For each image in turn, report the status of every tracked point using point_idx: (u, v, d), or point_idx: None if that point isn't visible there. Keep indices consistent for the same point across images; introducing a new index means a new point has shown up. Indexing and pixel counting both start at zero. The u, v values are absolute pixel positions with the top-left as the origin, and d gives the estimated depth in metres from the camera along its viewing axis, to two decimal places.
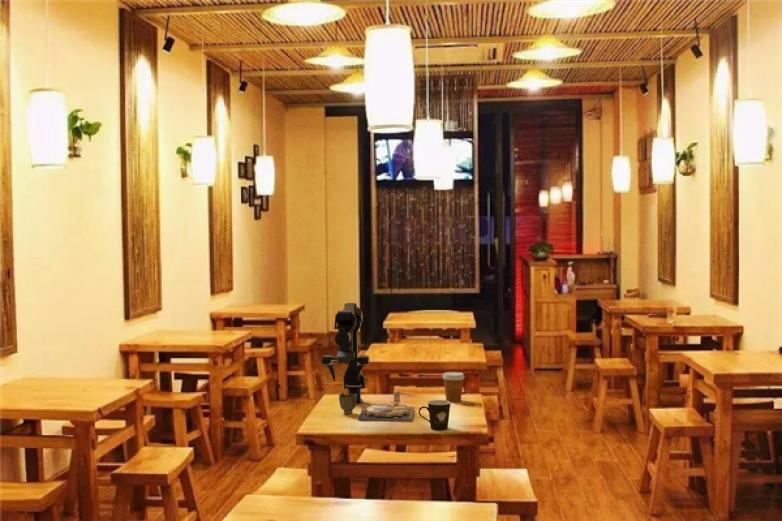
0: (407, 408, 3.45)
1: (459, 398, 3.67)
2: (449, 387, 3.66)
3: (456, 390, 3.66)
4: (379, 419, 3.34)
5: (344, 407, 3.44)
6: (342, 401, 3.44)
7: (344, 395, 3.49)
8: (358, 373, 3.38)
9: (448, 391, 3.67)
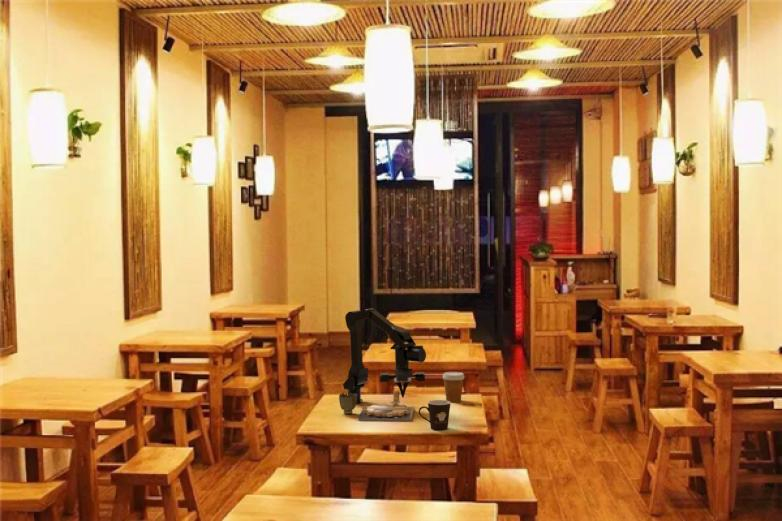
0: (407, 408, 3.45)
1: (459, 398, 3.67)
2: (449, 387, 3.66)
3: (456, 390, 3.66)
4: (379, 419, 3.34)
5: (344, 407, 3.44)
6: (342, 401, 3.44)
7: (344, 395, 3.49)
8: (404, 390, 3.53)
9: (448, 391, 3.67)
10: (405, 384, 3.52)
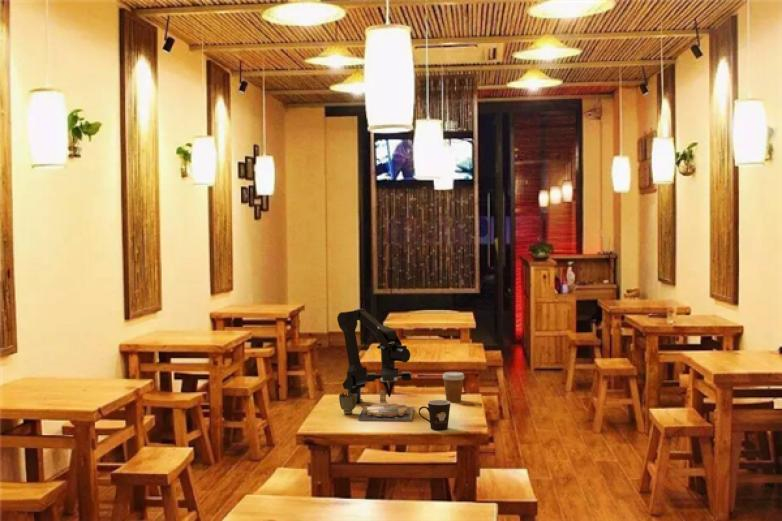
0: (403, 405, 3.49)
1: (459, 398, 3.67)
2: (449, 387, 3.66)
3: (456, 390, 3.66)
4: (379, 419, 3.34)
5: (344, 407, 3.44)
6: (342, 401, 3.44)
7: (344, 395, 3.49)
8: (390, 389, 3.53)
9: (448, 391, 3.67)
10: (391, 383, 3.52)
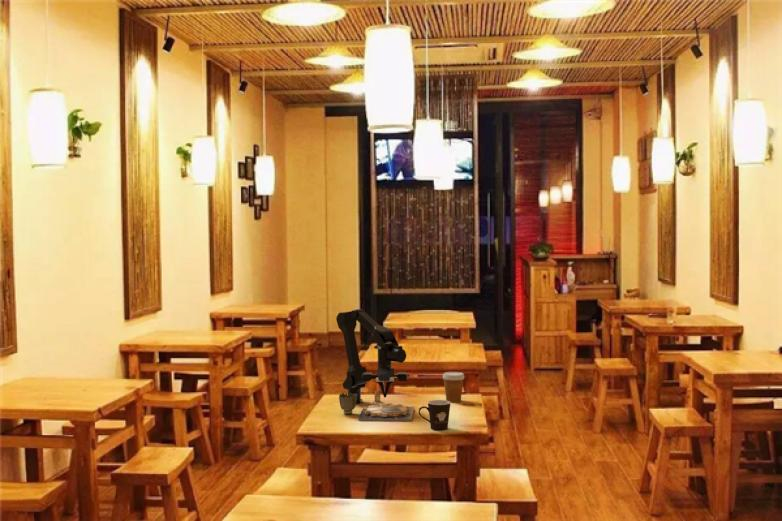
0: (400, 405, 3.51)
1: (459, 398, 3.67)
2: (449, 387, 3.66)
3: (456, 390, 3.66)
4: (379, 419, 3.34)
5: (344, 407, 3.44)
6: (342, 401, 3.44)
7: (344, 395, 3.49)
8: (386, 389, 3.53)
9: (448, 391, 3.67)
10: (387, 384, 3.51)
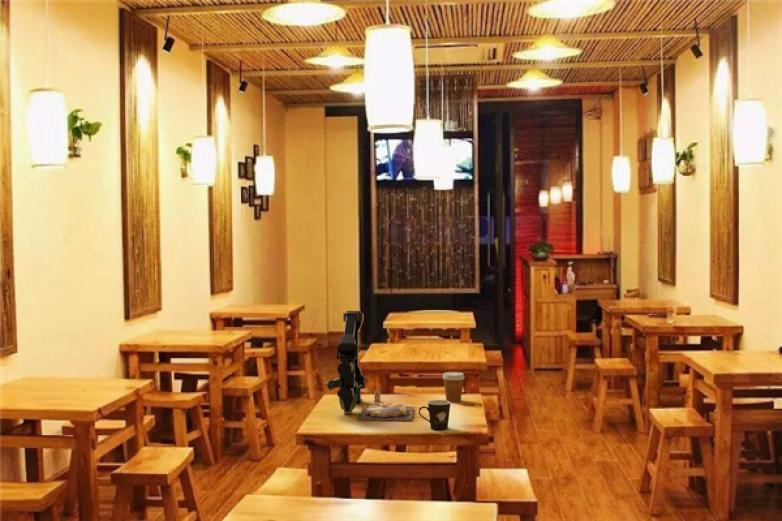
0: (400, 405, 3.51)
1: (459, 398, 3.67)
2: (449, 387, 3.66)
3: (456, 390, 3.66)
4: (379, 419, 3.34)
5: (344, 407, 3.44)
6: (342, 401, 3.44)
7: None
8: None
9: (448, 391, 3.67)
10: None
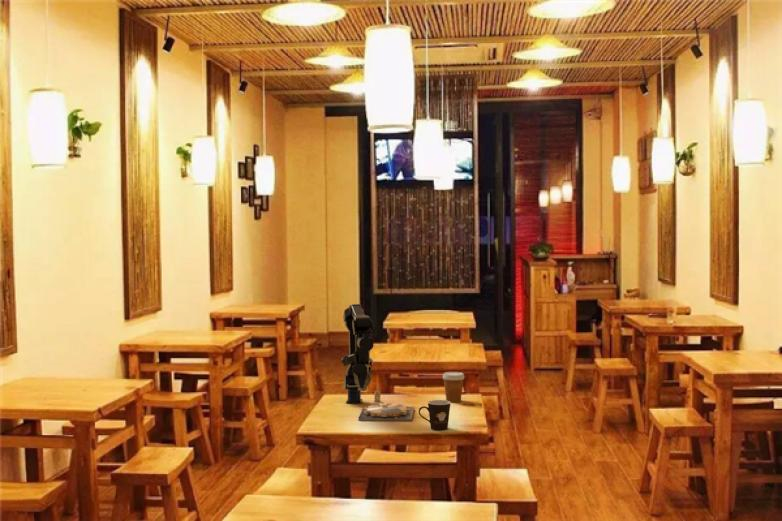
0: (400, 405, 3.51)
1: (459, 398, 3.67)
2: (449, 387, 3.66)
3: (456, 390, 3.66)
4: (379, 419, 3.34)
5: None
6: (357, 377, 3.41)
7: None
8: (358, 379, 3.40)
9: (448, 391, 3.67)
10: None
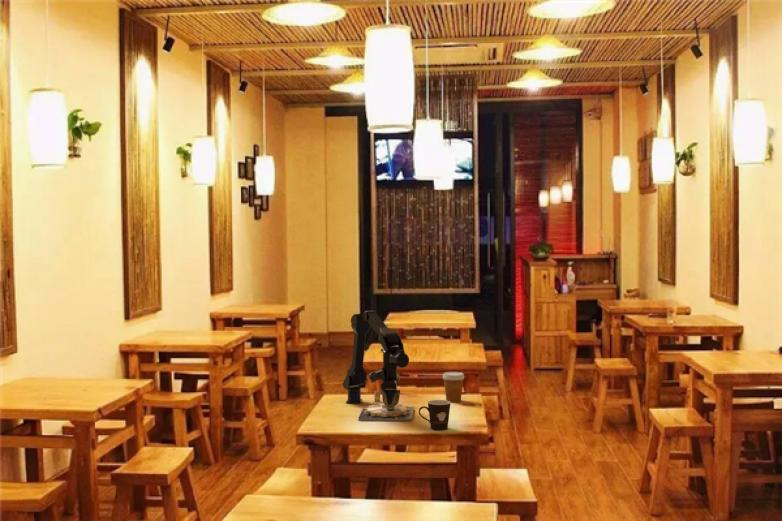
0: (400, 405, 3.51)
1: (459, 398, 3.67)
2: (449, 387, 3.66)
3: (456, 390, 3.66)
4: (379, 419, 3.34)
5: (387, 403, 3.38)
6: (385, 397, 3.37)
7: None
8: (386, 396, 3.35)
9: (448, 391, 3.67)
10: None
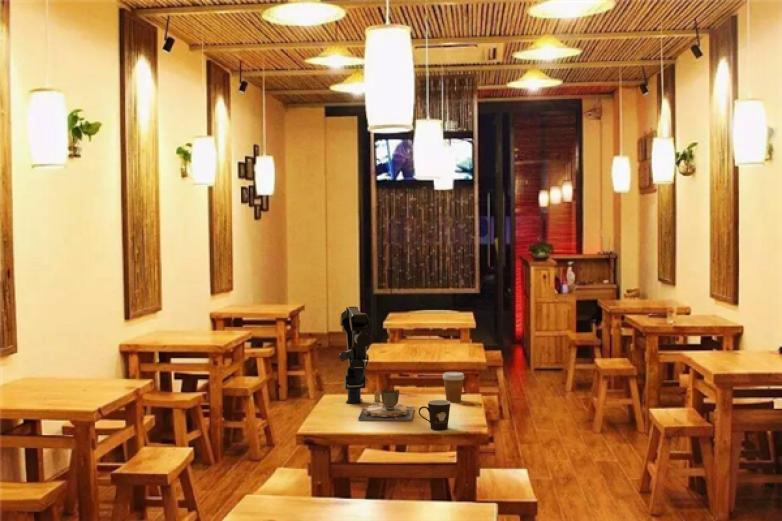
0: (400, 405, 3.51)
1: (459, 398, 3.67)
2: (449, 387, 3.66)
3: (456, 390, 3.66)
4: (379, 419, 3.34)
5: (387, 403, 3.38)
6: (385, 397, 3.38)
7: (386, 391, 3.43)
8: (355, 375, 3.49)
9: (448, 391, 3.67)
10: None
